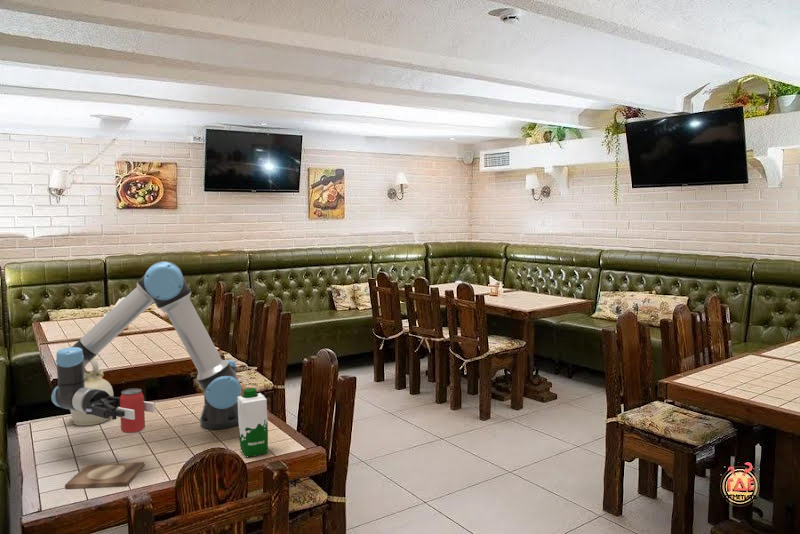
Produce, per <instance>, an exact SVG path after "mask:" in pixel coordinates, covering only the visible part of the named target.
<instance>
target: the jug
mask: <svg viewBox="0 0 800 534" xmlns="http://www.w3.org/2000/svg"><path fill="white" fill-rule="evenodd" d="M89 363H90V364H91V366H92V370H91V371H88V370H87V369H86V367H85V368H84V381H85V382H84V383H85V387H87V388H93V389H98V390H103V391H106V392H107V393H108V394H109V395H110V396H114V390H113V386H112V385H111V383H110V382H109V381H108V380H107V379H104V378H103V377H104V376H105V374H104V370H103V369H99V363H98V360H97V359H96V358H95V357H94V358H93V359H92V360H91V361H90V362H89ZM114 397H115V396H114ZM69 411H70V415H71V419H72V421H73V424H74V425H76V426H81V427H85V426H87V427H88V426H95V425H100V424H102V423H104V422H107V421H108V420H110V418H108V419H106V418H102V417H99V416H95V415H91V414H86V413H85V412H80V411H76V410H70V409H69Z"/></svg>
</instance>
